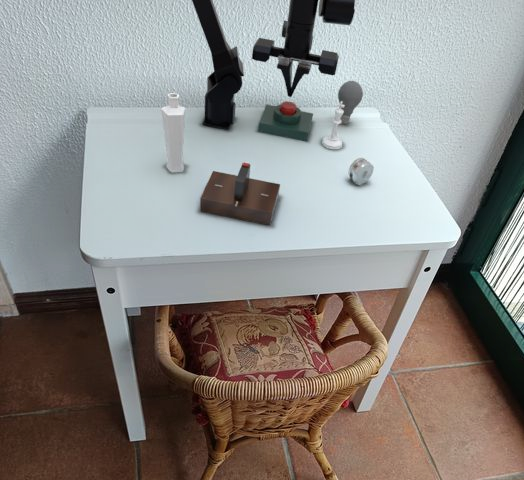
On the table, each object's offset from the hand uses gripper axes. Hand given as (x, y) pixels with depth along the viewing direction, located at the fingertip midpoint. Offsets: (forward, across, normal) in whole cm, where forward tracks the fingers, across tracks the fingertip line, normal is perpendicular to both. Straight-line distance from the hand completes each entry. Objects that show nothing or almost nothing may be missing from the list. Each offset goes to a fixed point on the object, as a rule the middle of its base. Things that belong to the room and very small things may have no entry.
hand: (289, 96), depth 114 cm
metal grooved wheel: (+8, -19, +18) cm, 27 cm away
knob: (+4, +4, +35) cm, 35 cm away
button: (+4, 0, 0) cm, 4 cm away
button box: (+7, 0, 0) cm, 7 cm away
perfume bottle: (+8, +20, +27) cm, 34 cm away
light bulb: (+8, -14, -8) cm, 18 cm away
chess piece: (+8, -12, +4) cm, 15 cm away
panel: (+7, +4, +35) cm, 36 cm away
